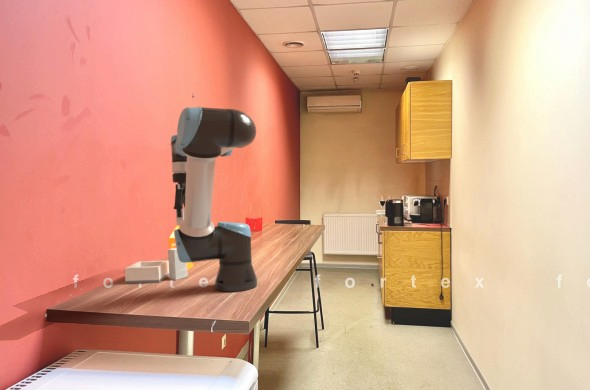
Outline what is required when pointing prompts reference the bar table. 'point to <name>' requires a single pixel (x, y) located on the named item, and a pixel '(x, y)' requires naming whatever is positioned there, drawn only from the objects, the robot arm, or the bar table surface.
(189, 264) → the orange juice
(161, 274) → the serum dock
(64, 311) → the bar table surface
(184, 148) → the robot arm
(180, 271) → the skincare box
